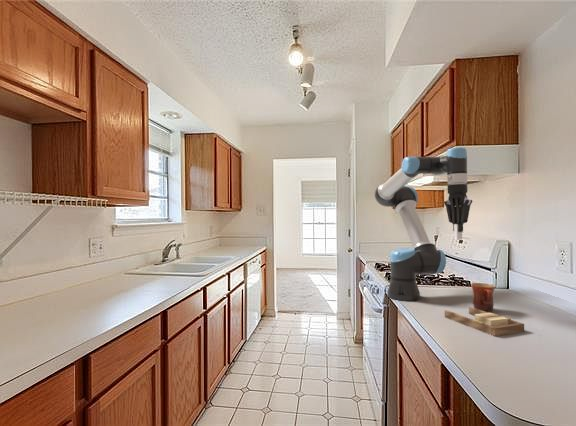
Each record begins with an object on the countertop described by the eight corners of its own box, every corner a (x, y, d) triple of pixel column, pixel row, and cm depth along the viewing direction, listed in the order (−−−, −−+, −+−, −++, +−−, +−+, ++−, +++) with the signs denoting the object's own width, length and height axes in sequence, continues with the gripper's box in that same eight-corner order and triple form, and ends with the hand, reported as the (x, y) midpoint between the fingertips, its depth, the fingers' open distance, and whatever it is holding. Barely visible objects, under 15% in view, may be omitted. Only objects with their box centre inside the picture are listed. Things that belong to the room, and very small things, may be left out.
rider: (474, 325, 115) (474, 313, 115) (490, 323, 117) (490, 312, 117) (491, 332, 108) (490, 319, 108) (507, 330, 110) (507, 318, 110)
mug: (468, 306, 138) (467, 282, 138) (490, 306, 137) (489, 283, 137) (478, 314, 127) (478, 288, 127) (503, 315, 125) (502, 289, 125)
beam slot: (444, 317, 124) (444, 309, 124) (471, 313, 128) (471, 306, 128) (494, 336, 104) (494, 327, 104) (524, 331, 108) (524, 323, 108)
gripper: (438, 185, 141) (439, 238, 141) (462, 182, 128) (464, 240, 128) (452, 185, 143) (453, 238, 143) (477, 182, 131) (478, 240, 130)
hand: (458, 239), depth 135 cm, fingers closed
